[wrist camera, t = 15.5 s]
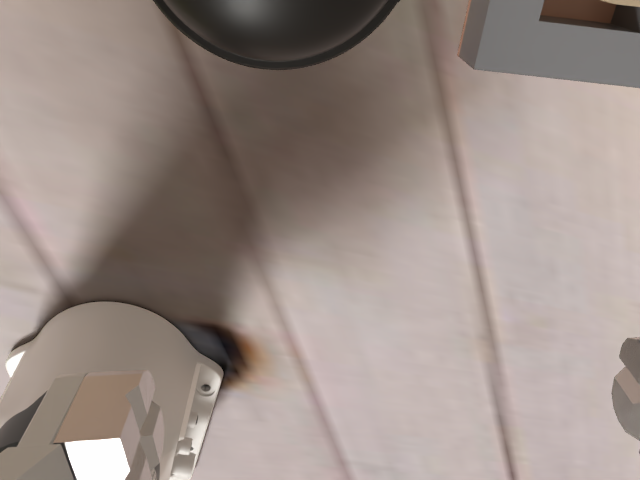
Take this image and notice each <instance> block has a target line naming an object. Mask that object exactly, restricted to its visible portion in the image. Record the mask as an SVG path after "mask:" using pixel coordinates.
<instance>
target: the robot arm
mask: <svg viewBox="0 0 640 480" xmlns="http://www.w3.org/2000/svg"><path fill="white" fill-rule="evenodd" d="M619 357H620V359H621V360H622V362H623V363H624V365H625V366H626V367H624V368H623V369H622V370H621V371H620V372H619V373H618V374H617V375H616V376H615V377H614V382H613V388H612V399H613V407H614V410H615V413H616V416H617V418H618V421H619V422H620V424H621V425H622V427H623V429H624V430H625V432H626V433H628V434H630V435H631V436H633V437H635V438H636V439H638V440H639V441H640V337H635V338H627V339H626V340H625V342H624V343H623V344H622V347H621V351H620V355H619ZM5 366H6V369H7V372H8V374H9V376H10V381H9V383H8V385H7V387H6V389H5V391H4V393H3V395H2V397H1V399H0V480H190V479H191V477H192V475H193V472H194V469H195V466H196V462H197V459H198V456H199V453H200V450H201V446H202V443H203V440H204V437H205V433H206V430H207V427H208V424H209V421H210V417H211V414H212V411H213V408H214V404H215V401H216V398H217V395H218V392H219V388H220V385H221V382H222V379H223V370H222V368H221V367H220V366H219V365H218V364H217V363H215V362H214V361H212V360H211V359H209V358H207V357H206V356H204V355H202V354H200V353H199V352H197V351H196V350H195V349H194V347H193V346H192V345H191V344H190V343H189V341H188V340H187V339H186V338H185V336H184V335H183V334H182V333H181V332H180V331H179V330H178V329H177V328H176V327H175V326H174V325H172V324H171V323H170V322H168V321H167V320H165V319H164V318H162V317H161V316H159V315H157V314H155V313H153V312H151V311H148V310H146V309H143V308H141V307H137V306H134V305H130V304H125V303H119V302H91V303H85V304H81V305H77V306H74V307H71V308H69V309H67V310H64V311H63V312H61V313H59V314H58V315H56V316H55V317H53V318H52V319H51V320H50V321H49V322H48V323H47V324H46V325H45V326H44V327H43V329H42V330H41V331H40V333H39V334H38V335H37V336H36V338H35V339H33V340H32V341H30V342H28V343H26V344H24V345H22V346H20V347H18V348H16V349H14V350H13V351H12V352H11V353H10V354H9V356H8V358H7V360H6V363H5ZM204 384H207V385H209V386H205V385H204ZM639 454H640V451H639Z"/></svg>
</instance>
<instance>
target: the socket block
mask: <svg viewBox="0 0 640 480" xmlns="http://www.w3.org/2000/svg"><path fill="white" fill-rule="evenodd" d="M457 55H458V56H459V57H460V58H461V59H462V60H463V61H465V62H466V63H467V64H468V65H469V66H470V67H472V68H473V69H475V70H484V71H492V72H501V73H510V74H519V75H528V76H537V77H546V78H555V79H564V80H573V81H581V82H590V83H599V84H608V85H617V86H626V87H635V88H640V7H636V6H627V5H618V4H612V3H608V2H604V1H601V0H469V3H468V8H467V12H466V17H465V22H464V26H463V31H462V35H461V40H460V45H459V49H458V54H457Z"/></svg>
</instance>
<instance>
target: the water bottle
mask: <svg viewBox="0 0 640 480" xmlns="http://www.w3.org/2000/svg"><path fill="white" fill-rule="evenodd" d="M153 1H154V2H155V4H156V5H157V6H158V8H159V9H160V10H161V11H162V13H163V14H164V15H165V16H166V17H167V18H168V19H169V20H170V21H171V23H172V24H173V25H174V26H175V27H177V28H178V29H179V30H180V31H181V32H182V33H183V34H184V35H186V36H187V37H188V38H189V39H191V40H192V41H193V42H195V43H196V44H198V45H199V46H201V47H202V48H204V49H206V50H207V51H209V52H211V53H213V54H215V55H217V56H219V57H221V58H223V59H226V60H228V61H231V62H234V63H237V64H240V65H244V66H248V67H253V68H259V69H269V70H287V69H297V68H303V67H308V66H312V65H316V64H319V63H322V62H325V61H327V60H330V59H332V58H334V57H337V56H339V55H341V54H343V53H344V52H346V51H348V50H349V49H351V48H353V47H354V46H356V45H357V44H358V43H360V42H361V41H362V40H364V39H365V38H366V37H367V36H369V35H370V34H371V33H372V32H373V31H374V30H375V29H376V28H377V27H378V26H379V25H380V24H381V23H382V22H383V21H384V20H385V18H386V17H387V16H388V15H389V13H390V12H391V11H392V9H393V8H394V7H395V5H396V4H397V3H398V2H399V1H400V0H153Z"/></svg>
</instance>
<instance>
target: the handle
mask: <svg viewBox="0 0 640 480" xmlns="http://www.w3.org/2000/svg"><path fill="white" fill-rule="evenodd" d="M601 1H604V2H608V3H612V4H618V5H627V6H636V7H640V0H601Z"/></svg>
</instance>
